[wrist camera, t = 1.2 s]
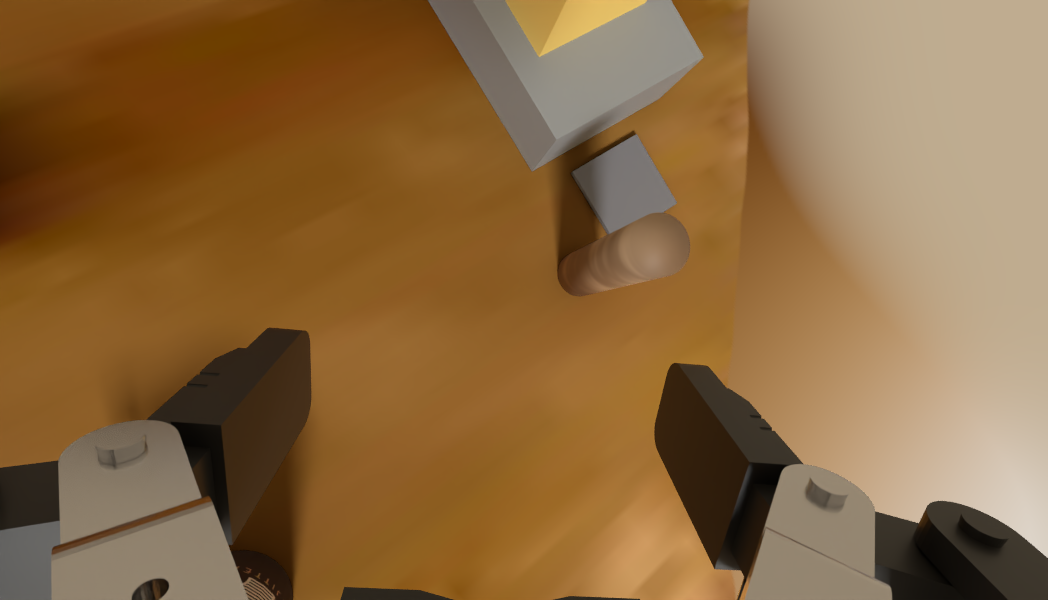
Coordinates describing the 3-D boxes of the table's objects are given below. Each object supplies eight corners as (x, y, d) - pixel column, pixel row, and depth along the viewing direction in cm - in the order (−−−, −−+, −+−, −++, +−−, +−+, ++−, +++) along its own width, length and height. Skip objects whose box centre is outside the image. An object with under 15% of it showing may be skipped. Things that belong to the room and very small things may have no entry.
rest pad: (570, 173, 37) (572, 171, 37) (634, 136, 39) (636, 134, 38) (613, 243, 38) (615, 242, 37) (674, 204, 39) (677, 203, 39)
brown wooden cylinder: (549, 266, 36) (618, 232, 25) (585, 243, 37) (668, 200, 25) (572, 304, 36) (652, 289, 25) (607, 281, 37) (701, 255, 26)
